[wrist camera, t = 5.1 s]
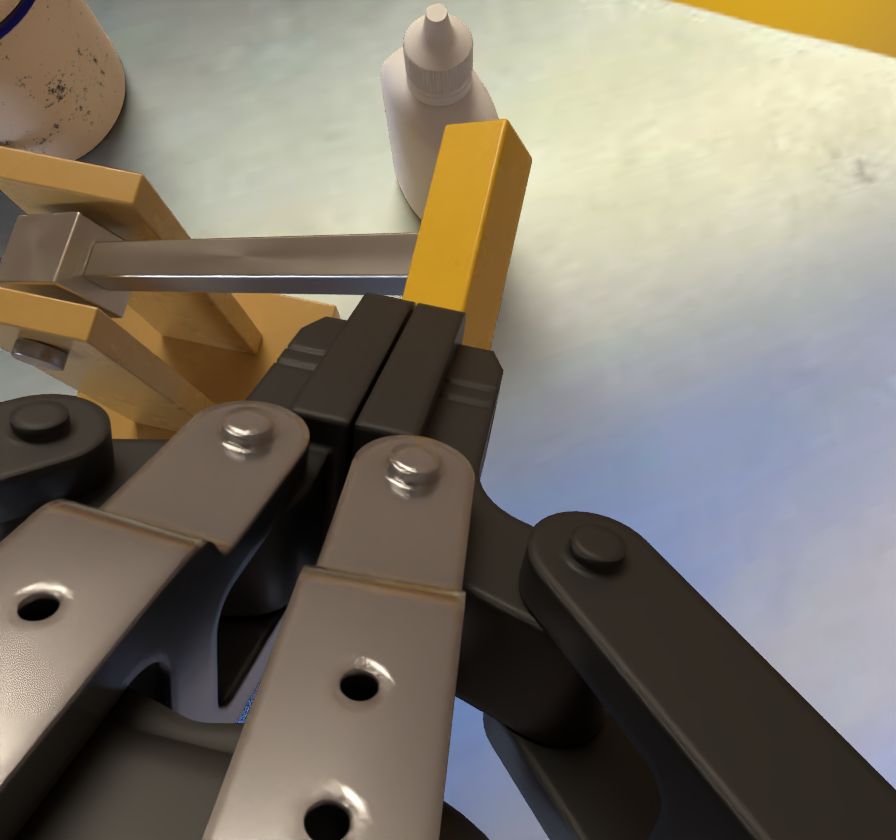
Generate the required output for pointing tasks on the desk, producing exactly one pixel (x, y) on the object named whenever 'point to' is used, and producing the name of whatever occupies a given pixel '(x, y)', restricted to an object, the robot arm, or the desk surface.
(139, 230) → the wooden lever stand
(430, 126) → the eye dropper bottle
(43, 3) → the teacup with lid
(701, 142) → the desk surface
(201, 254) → the lever handle
